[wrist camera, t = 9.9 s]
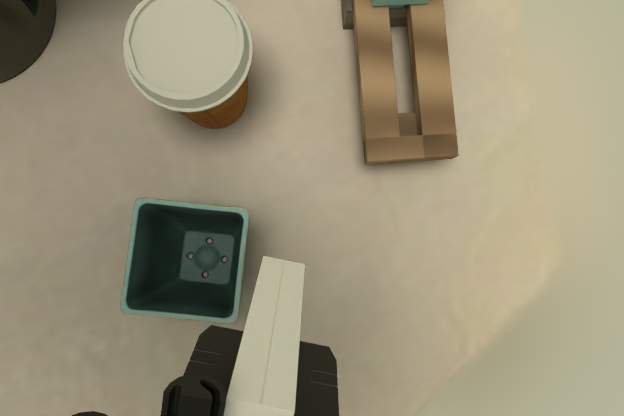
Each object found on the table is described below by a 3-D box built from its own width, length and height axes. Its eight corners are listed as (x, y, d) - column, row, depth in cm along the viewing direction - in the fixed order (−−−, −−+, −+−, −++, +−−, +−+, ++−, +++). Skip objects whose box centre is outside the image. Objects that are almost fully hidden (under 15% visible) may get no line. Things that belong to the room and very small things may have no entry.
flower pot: (259, 215, 43) (249, 208, 34) (249, 308, 42) (236, 325, 33) (168, 206, 42) (134, 196, 33) (156, 299, 42) (118, 313, 33)
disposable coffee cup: (180, 40, 44) (136, -36, 32) (273, 63, 44) (264, -5, 32) (155, 132, 43) (100, 89, 31) (250, 155, 43) (232, 120, 31)
